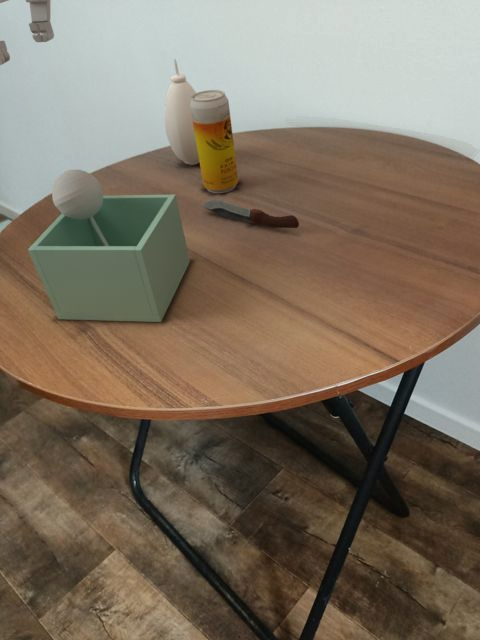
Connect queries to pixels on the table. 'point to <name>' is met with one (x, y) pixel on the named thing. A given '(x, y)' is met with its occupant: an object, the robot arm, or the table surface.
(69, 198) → the lollipop
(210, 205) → the knife
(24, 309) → the table surface
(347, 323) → the table surface
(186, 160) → the sauce bottle
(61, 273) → the tub
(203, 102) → the beer can
